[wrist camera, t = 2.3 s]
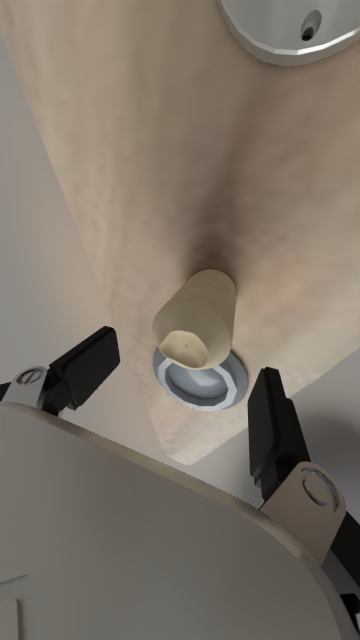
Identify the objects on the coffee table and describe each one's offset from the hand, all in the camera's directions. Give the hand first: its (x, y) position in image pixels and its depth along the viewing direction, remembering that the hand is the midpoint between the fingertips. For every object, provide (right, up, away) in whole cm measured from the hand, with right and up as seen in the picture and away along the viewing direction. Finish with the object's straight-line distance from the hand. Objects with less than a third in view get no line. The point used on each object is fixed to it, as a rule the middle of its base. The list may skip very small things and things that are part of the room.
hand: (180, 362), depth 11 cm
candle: (+3, +6, +8) cm, 10 cm away
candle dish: (+3, -6, +14) cm, 16 cm away
